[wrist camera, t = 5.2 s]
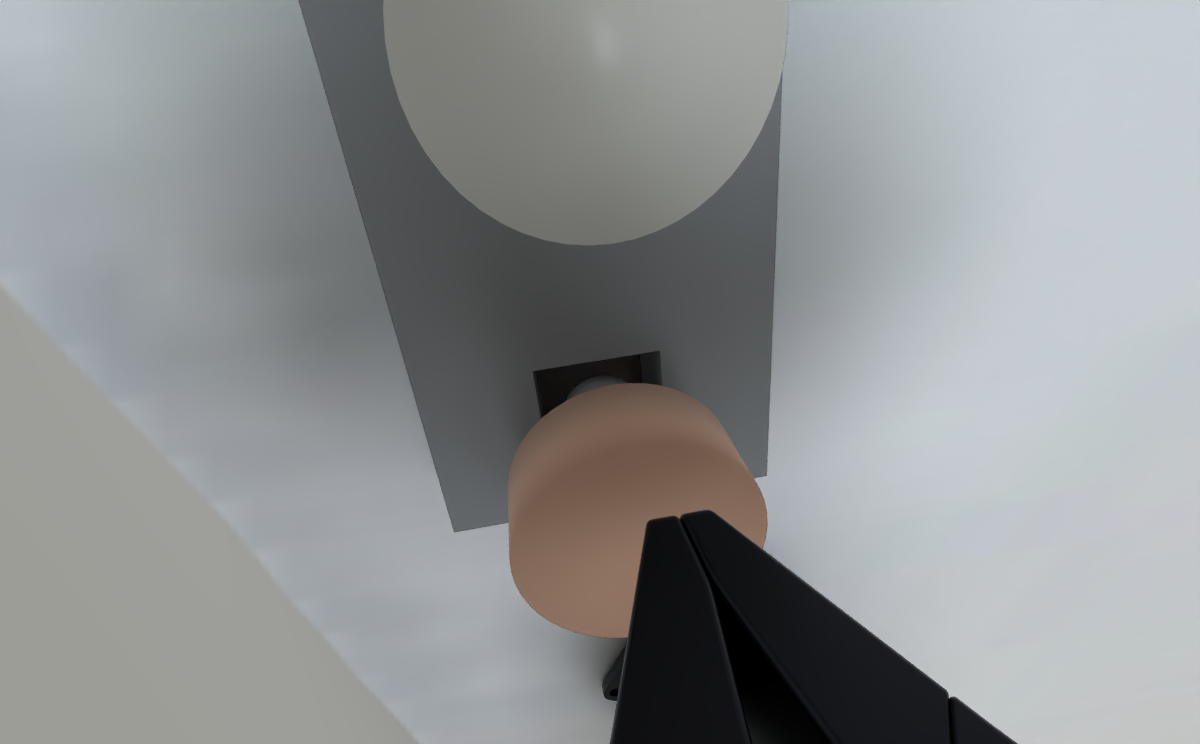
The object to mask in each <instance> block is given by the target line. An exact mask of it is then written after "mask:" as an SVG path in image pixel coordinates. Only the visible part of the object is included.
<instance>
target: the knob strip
mask: <svg viewBox="0 0 1200 744" xmlns="http://www.w3.org/2000/svg"><path fill="white" fill-rule="evenodd" d="M383 1H384V0H299V3H300V7H301V10H302V14H303V17H304V20H305V24H306V27H307V31H308V34H309V38H310V41H311V44H312V48H313V51H314V55H315V58H316V62H317V65H318V68H319V72H320V75H321V79H322V82H323V85H324V89H325V92H326V96H327V99H328V103H329V106H330V109H331V113H332V116H333V120H334V123H335V127H336V130H337V133H338V137H339V140H340V144H341V147H342V150H343V154H344V157H345V161H346V164H347V168H348V171H349V174H350V178H351V181H352V185H353V188H354V192H355V195H356V198H357V202H358V205H359V209H360V212H361V215H362V219H363V222H364V226H365V229H366V233H367V236H368V239H369V243H370V246H371V250H372V253H373V256H374V260H375V263H376V267H377V270H378V274H379V277H380V280H381V284H382V287H383V291H384V294H385V298H386V301H387V304H388V308H389V311H390V315H391V318H392V321H393V325H394V328H395V332H396V335H397V339H398V342H399V345H400V349H401V352H402V356H403V359H404V363H405V366H406V369H407V373H408V376H409V380H410V383H411V386H412V390H413V393H414V397H415V400H416V404H417V407H418V410H419V414H420V417H421V421H422V424H423V427H424V431H425V434H426V438H427V441H428V445H429V448H430V451H431V455H432V458H433V462H434V465H435V469H436V472H437V475H438V479H439V482H440V486H441V489H442V492H443V496H444V499H445V503H446V506H447V510H448V513H449V516H450V520H451V523H452V527H453V530H454V532H459V531H465V530H470V529H476V528H481V527H487V526H492V525H498V524H503V523H509V520H508V476H509V471H510V466H511V463H512V461H513V458H514V455H515V453H516V451H517V449H518V447H519V445H520V444H521V442H522V440H523V439H524V438H525V436H526V435H527V434H528V432H529V431H530V430H531V429H532V427H533V426H534V425H535V424H536V423H537V422H538V421H539V420H540V419H541V418H543V417H544V416H545V415H543V411H542V406H541V400H540V394H539V388H538V383H537V377H536V371H537V370H543V369H549V368H556V367H562V366H568V365H574V364H580V363H587V362H593V361H599V360H605V359H611V358H618V357H624V356H630V355H636V354H640V361H641V374H642V383H646V384H654V385H661V386H664V387H668V388H672V389H675V390H678V391H680V392H683V393H685V394H687V395H689V396H691V397H693V398H694V399H696V400H698V401H699V402H701V403H702V404H703V405H704V406H706V407H707V408H708V409H709V410H710V411H711V412H712V413H713V414H714V415H715V416H716V417H717V418H718V420H719V421H720V423H721V424H722V426H723V428H724V429H725V431H726V432H727V434H728V436H729V438H730V439H731V441H732V443H733V444H734V446H735V448H736V449H737V451H738V453H739V454H740V456H741V458H742V460H743V461H744V463H745V465H746V466H747V468H748V470H749V471H750V473H751V475H752V477H753V478H757V477H763V476H767V455H768V429H769V403H770V377H771V352H772V326H773V300H774V274H775V248H776V222H777V196H778V170H779V145H780V119H781V93H782V73H781V78H780V82H779V85H778V88H777V92H776V95H775V98H774V101H773V104H772V107H771V109H770V112H769V114H768V116H767V118H766V121H765V123H764V125H763V127H762V130H761V132H760V134H759V135H758V137H757V139H756V141H755V142H754V144H753V146H752V147H751V149H750V151H749V153H748V154H747V156H746V157H745V158H744V160H743V161H742V162H741V164H740V165H739V166H738V168H737V169H736V170H735V172H734V173H733V174H732V176H731V177H730V178H729V179H728V180H727V181H726V182H725V183H724V184H723V185H722V186H721V187H720V188H719V189H718V191H717V192H716V193H715V194H713V195H712V196H711V197H710V198H709V199H707V200H706V201H705V202H704V203H703V204H702V205H700V206H699V207H698V208H697V209H695V210H694V211H692V212H691V213H689V214H688V215H686V216H685V217H683V218H682V219H680V220H678V221H677V222H675V223H673V224H671V225H669V226H667V227H665V228H663V229H661V230H659V231H657V232H654V233H651V234H648V235H645V236H642V237H639V238H637V239H633V240H628V241H623V242H619V243H614V244H603V245H570V244H563V243H557V242H552V241H546V240H543V239H539V238H536V237H533V236H530V235H527V234H524V233H521V232H519V231H517V230H515V229H513V228H510V227H508V226H506V225H504V224H502V223H500V222H498V221H497V220H495V219H494V218H492V217H490V216H489V215H487V214H486V213H484V212H482V211H481V210H479V209H478V208H477V207H476V206H475V205H473V204H472V203H471V202H470V201H468V200H467V199H466V198H465V197H464V196H462V195H461V194H460V193H459V192H458V191H457V190H456V189H455V188H454V187H453V186H452V185H451V184H450V183H449V182H448V181H447V180H446V178H445V177H444V176H443V175H442V174H441V173H440V172H439V170H438V169H437V168H436V166H435V165H434V164H433V162H432V161H431V160H430V158H429V157H428V156H427V154H426V153H425V151H424V150H423V148H422V146H421V144H420V143H419V141H418V139H417V138H416V136H415V134H414V132H413V131H412V129H411V127H410V125H409V122H408V120H407V118H406V115H405V113H404V111H403V109H402V106H401V104H400V102H399V99H398V95H397V92H396V89H395V85H394V82H393V79H392V75H391V72H390V67H389V61H388V56H387V50H386V44H385V34H384V18H383Z"/></svg>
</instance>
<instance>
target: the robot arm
mask: <svg viewBox="0 0 1200 744" xmlns="http://www.w3.org/2000/svg"><path fill="white" fill-rule="evenodd" d="M602 688H603V694H604V697H605V698H606V699H608V700H613V701H617V704H616V710H615V716H614V722H613V728H612V734H611V740H610V744H1017V743H1016V742H1015V741H1013V740H1012V739H1011V738H1009V737H1008V736H1006V735H1005V734H1004V733H1002V732H1001V731H1000V730H998V729H997V728H996V727H994V726H993V725H992V724H990V723H989V722H988V721H986V720H985V719H984V718H982V717H981V716H980V715H978V714H977V713H976V712H975V711H973V710H972V709H971V708H969V707H968V706H967V705H965V704H964V703H963V702H962V701H960V700H959V699H958V698H956V697H950V698H949V695H948V692H947V690H945V689H944V688H943V687H942V686H940V685H939V684H938V683H936V682H935V681H934V680H932V679H931V678H930V677H928V676H927V675H926V674H925V673H923V672H922V671H921V670H919V669H918V668H917V667H915V666H914V665H913V664H912V663H910V662H909V661H908V660H906V659H905V658H904V657H902V656H901V655H900V654H899V653H897V652H896V651H895V650H893V649H892V648H891V647H889V646H888V645H887V644H886V643H884V642H883V641H882V640H880V639H879V638H878V637H876V636H875V635H874V634H872V633H871V632H870V631H869V630H867V629H866V628H865V627H863V626H862V625H861V624H859V623H858V622H857V621H856V620H854V619H853V618H852V617H850V616H849V615H848V614H846V613H845V612H844V611H843V610H841V609H840V608H839V607H837V606H836V605H835V604H833V603H832V602H831V601H829V600H828V599H827V598H826V597H824V596H823V595H822V594H820V593H819V592H818V591H816V590H815V589H814V588H813V587H811V586H810V585H809V584H807V583H806V582H805V581H803V580H802V579H801V578H800V577H798V576H797V575H796V574H794V573H793V572H792V571H790V570H789V569H788V568H787V567H785V566H784V565H783V564H781V563H780V562H779V561H777V560H776V559H775V558H773V557H772V556H771V555H770V554H768V553H767V552H766V551H764V550H763V549H762V548H760V547H759V546H758V545H757V544H755V543H754V542H753V541H751V540H750V539H749V538H747V537H746V536H745V535H744V534H742V533H741V532H740V531H738V530H737V529H736V528H734V527H733V526H732V525H731V524H729V523H728V522H727V521H725V520H724V519H723V518H721V517H720V516H719V515H717V514H716V513H715V512H713V511H711V510H701V511H696V512H690V513H684V514H682V515H681V516H680V519H679V518H678V517H677V516H667V517H661V518H656V519H651V520H649V521H648V522H647V524H646V529H645V535H644V541H643V547H642V553H641V559H640V565H639V571H638V577H637V583H636V589H635V595H634V602H633V608H632V614H631V620H630V626H629V632H628V638H627V644H626V647H625V648H624V650H623V651H622V653H621V654H620V656H619V658H618V659H617V661H616V662H615V664H614V666H613V667H612V669H611V670H610V672H609V673H608V675H607V677H606V678H605V680H604V681H603V684H602Z"/></svg>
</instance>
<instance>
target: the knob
mask: <svg viewBox="0 0 1200 744" xmlns="http://www.w3.org/2000/svg"><path fill="white" fill-rule="evenodd" d="M701 510H711V511H713V512H715V513H716V514H717V515H719V516H720V517H721V518H723V519H724V520H725V521H727V522H728V523H729V524H731V525H732V526H733V527H734V528H736V529H737V530H738V531H740V532H741V533H742V534H744V535H745V536H746V537H747V538H749V539H750V540H751V541H753V542H754V543H755V544H757V545H758V546H759V547H760V548H762V549H763V546H764V542H765V539H766V533H767V525H768V524H767V510H766V505H765V501H764V498H763V496H762V493H761V491H760V488H759V487H758V485H757V483H756V482H755V480H754V478H753V477H752V475H751V473H750V471H749V470H748V468H747V466H746V465H745V463H744V461H743V460H742V458H741V456H740V454H739V453H738V451H737V449H736V448H735V446H734V444H733V443H732V441H731V439H730V438H729V436H728V434H727V432H726V431H725V429H724V428H723V426H722V424H721V423H720V421H719V420H718V418H717V417H716V416H715V415H714V414H713V413H712V412H711V411H710V410H709V409H708V408H707V407H706V406H704V405H703V404H702V403H701V402H699V401H698V400H696V399H694V398H693V397H691V396H689V395H687V394H685V393H683V392H680V391H678V390H675V389H672V388H668V387H664V386H661V385H654V384H646V383H627V382H626V381H624V380H622V379H620V378H617V377H614V376H596V377H592V378H589V379H586V380H584V381H582V382H581V383H579V384H578V385H577V386H576V387H574V388H573V390H572V391H571V392H570V393H569V395H568V397H567V398H566V401H565V402H563V403H562V404H560V405H559V406H557V407H556V408H554V409H552V410H551V411H550V412H549V413H547V414H546V415H545V416H544V417H543V418H541V419H540V420H539V421H538V422H537V423H536V424H535V425H534V426H533V427H532V429H531V430H530V431H529V432H528V434H527V435H526V436H525V438H524V439H523V440H522V442H521V444H520V445H519V447H518V449H517V451H516V453H515V455H514V458H513V461H512V463H511V466H510V471H509V476H508V520H509V556H510V566H511V573H512V576H513V579H514V582H515V584H516V586H517V588H518V590H519V592H520V594H521V595H522V597H523V598H524V599H525V600H526V602H527V603H528V604H529V605H530V606H531V607H532V608H533V609H534V610H535V611H536V612H537V613H538V614H539V615H541V616H542V617H544V618H545V619H547V620H548V621H550V622H552V623H554V624H556V625H558V626H560V627H562V628H564V629H567V630H570V631H573V632H576V633H580V634H584V635H589V636H596V637H604V638H626V637H628V632H629V626H630V620H631V614H632V608H633V602H634V595H635V589H636V583H637V577H638V571H639V565H640V559H641V553H642V547H643V541H644V535H645V529H646V524H647V522H648V521H649V520H651V519H656V518H661V517H667V516H677V517H678V518H679V519H680V516H681V515H682V514H684V513H690V512H696V511H701Z"/></svg>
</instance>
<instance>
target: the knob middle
mask: <svg viewBox="0 0 1200 744" xmlns="http://www.w3.org/2000/svg"><path fill="white" fill-rule="evenodd" d="M383 18H384V34H385V44H386V50H387V56H388V61H389V67H390V72H391V75H392V79H393V82H394V85H395V89H396V92H397V95H398V99H399V102H400V104H401V106H402V109H403V111H404V113H405V115H406V118H407V120H408V122H409V125H410V127H411V129H412V131H413V132H414V134H415V136H416V138H417V139H418V141H419V143H420V144H421V146H422V148H423V150H424V151H425V153H426V154H427V156H428V157H429V158H430V160H431V161H432V162H433V164H434V165H435V166H436V168H437V169H438V170H439V172H440V173H441V174H442V175H443V176H444V177H445V178H446V180H447V181H448V182H449V183H450V184H451V185H452V186H453V187H454V188H455V189H456V190H457V191H458V192H459V193H460V194H461V195H462V196H464V197H465V198H466V199H467V200H468V201H470V202H471V203H472V204H473V205H475V206H476V207H477V208H478V209H479V210H481V211H482V212H484V213H486V214H487V215H489V216H490V217H492V218H494V219H495V220H497V221H498V222H500V223H502V224H504V225H506V226H508V227H510V228H513V229H515V230H517V231H519V232H521V233H524V234H527V235H530V236H533V237H536V238H539V239H543V240H546V241H552V242H557V243H563V244H570V245H603V244H614V243H619V242H623V241H628V240H633V239H637V238H639V237H642V236H645V235H648V234H651V233H654V232H657V231H659V230H661V229H663V228H665V227H667V226H669V225H671V224H673V223H675V222H677V221H678V220H680V219H682V218H683V217H685V216H686V215H688V214H689V213H691V212H692V211H694V210H695V209H697V208H698V207H699V206H700V205H702V204H703V203H704V202H705V201H706V200H707V199H709V198H710V197H711V196H712V195H713V194H715V193H716V192H717V191H718V189H719V188H720V187H721V186H722V185H723V184H724V183H725V182H726V181H727V180H728V179H729V178H730V177H731V176H732V174H733V173H734V172H735V170H736V169H737V168H738V166H739V165H740V164H741V162H742V161H743V160H744V158H745V157H746V156H747V154H748V153H749V151H750V149H751V147H752V146H753V144H754V142H755V141H756V139H757V137H758V135H759V134H760V132H761V130H762V127H763V125H764V123H765V121H766V118H767V116H768V114H769V112H770V109H771V107H772V104H773V101H774V98H775V95H776V92H777V88H778V85H779V82H780V78H781V73H782V68H783V63H784V58H785V53H786V43H787V32H788V0H384V1H383Z"/></svg>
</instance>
